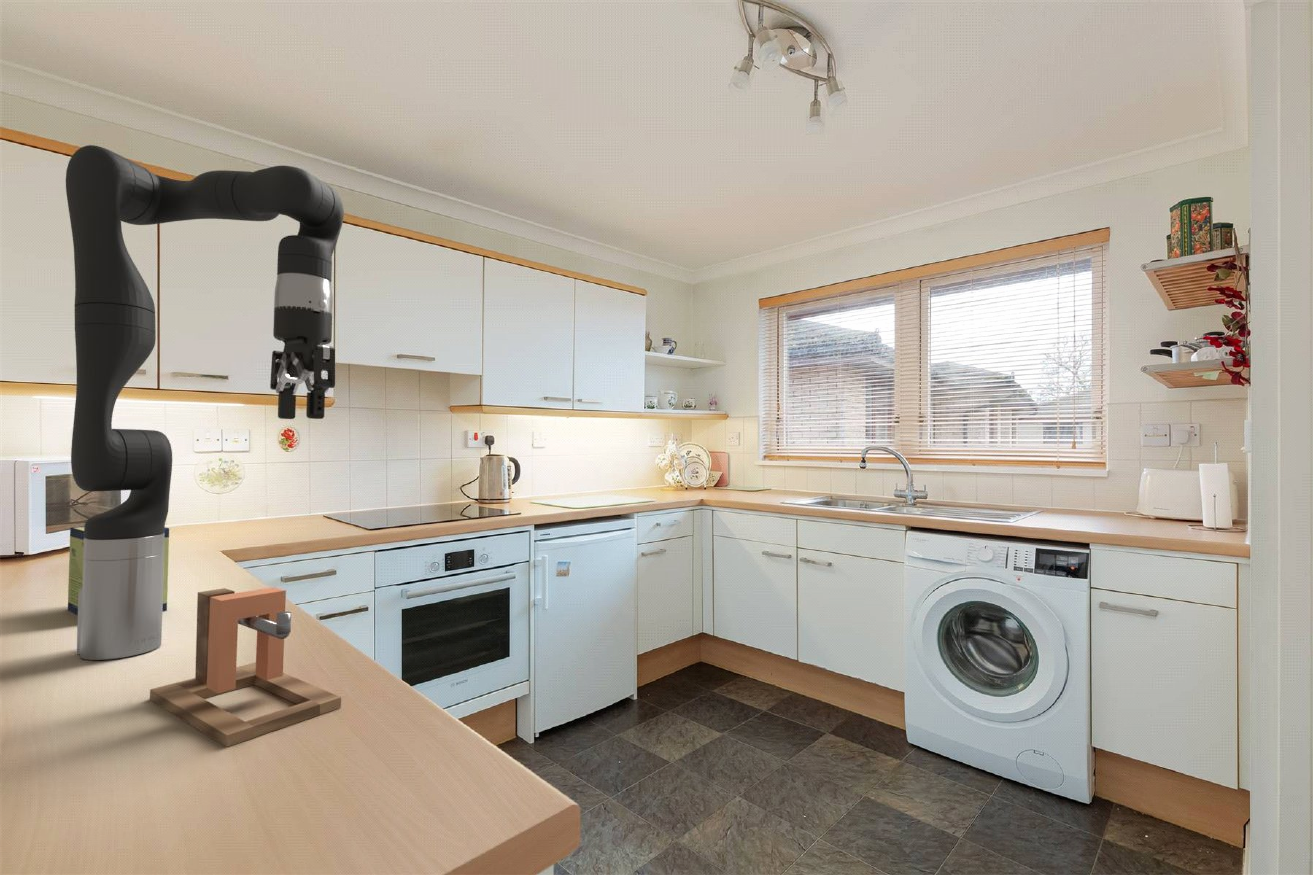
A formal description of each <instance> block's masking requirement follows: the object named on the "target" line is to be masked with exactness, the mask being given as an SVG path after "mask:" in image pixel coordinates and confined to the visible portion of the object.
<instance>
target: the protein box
mask: <svg viewBox="0 0 1313 875" xmlns="http://www.w3.org/2000/svg"><path fill="white" fill-rule="evenodd" d="M84 526H85V525H84ZM84 526H74V527H73V526H72V527H70V530H69V556H68V558H69V561H68V585H67V586H68V588H67V589H68V590H67V591H68V592H67V611H70V612H72V613H73V614H76V615H78V592H79V590H80V589H81V588H83V559H84V558H83V555H84V538H85V537H84ZM164 533H165V536H164V575H163V611H162V612H167V611H168V588H169V587H168V586H169V585H168V580H169V555H170V554H169V553H170V552H169V551H170V550H169V549H170V528H169V527H166V526H165V532H164Z"/></svg>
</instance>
